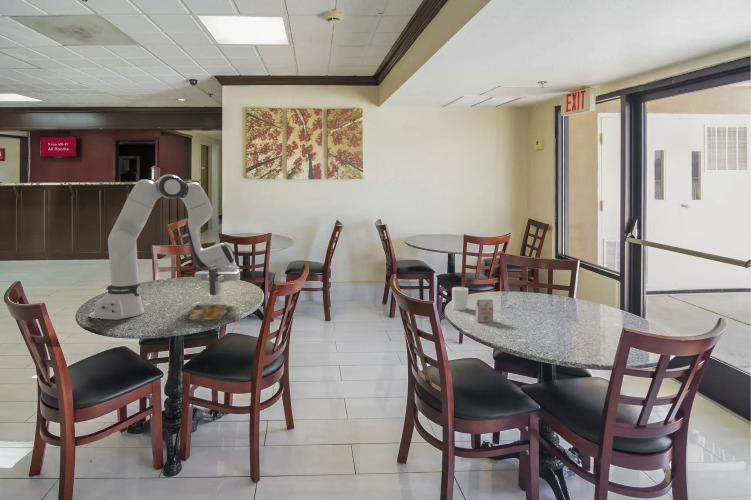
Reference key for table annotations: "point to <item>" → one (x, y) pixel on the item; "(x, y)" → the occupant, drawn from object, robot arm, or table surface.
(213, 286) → the block
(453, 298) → the white cup
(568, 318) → the table surface
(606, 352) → the table surface
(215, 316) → the wooden divided box
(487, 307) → the red and white carton
